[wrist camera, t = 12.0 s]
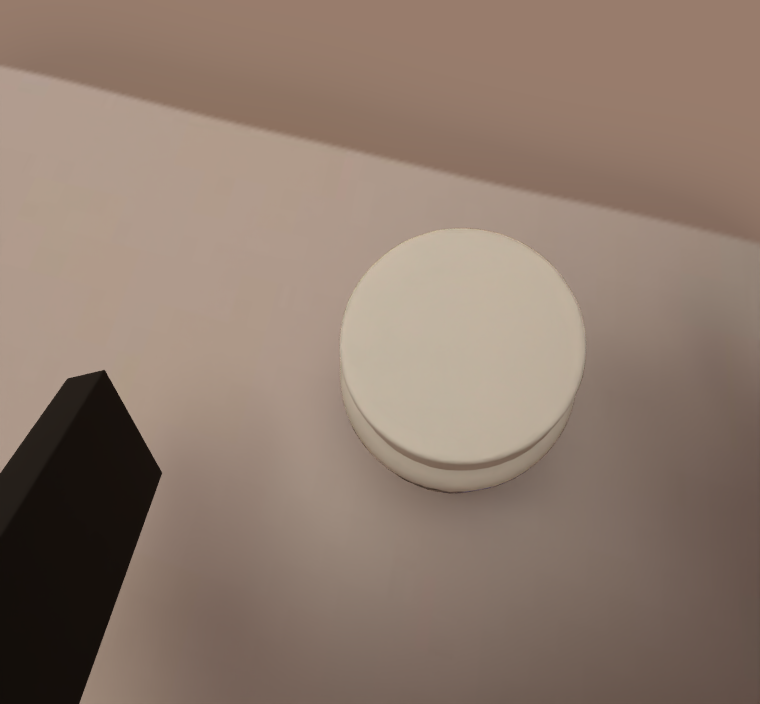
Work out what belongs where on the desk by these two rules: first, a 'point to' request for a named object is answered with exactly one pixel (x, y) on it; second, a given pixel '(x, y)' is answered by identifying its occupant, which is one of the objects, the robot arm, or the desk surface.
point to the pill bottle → (461, 359)
